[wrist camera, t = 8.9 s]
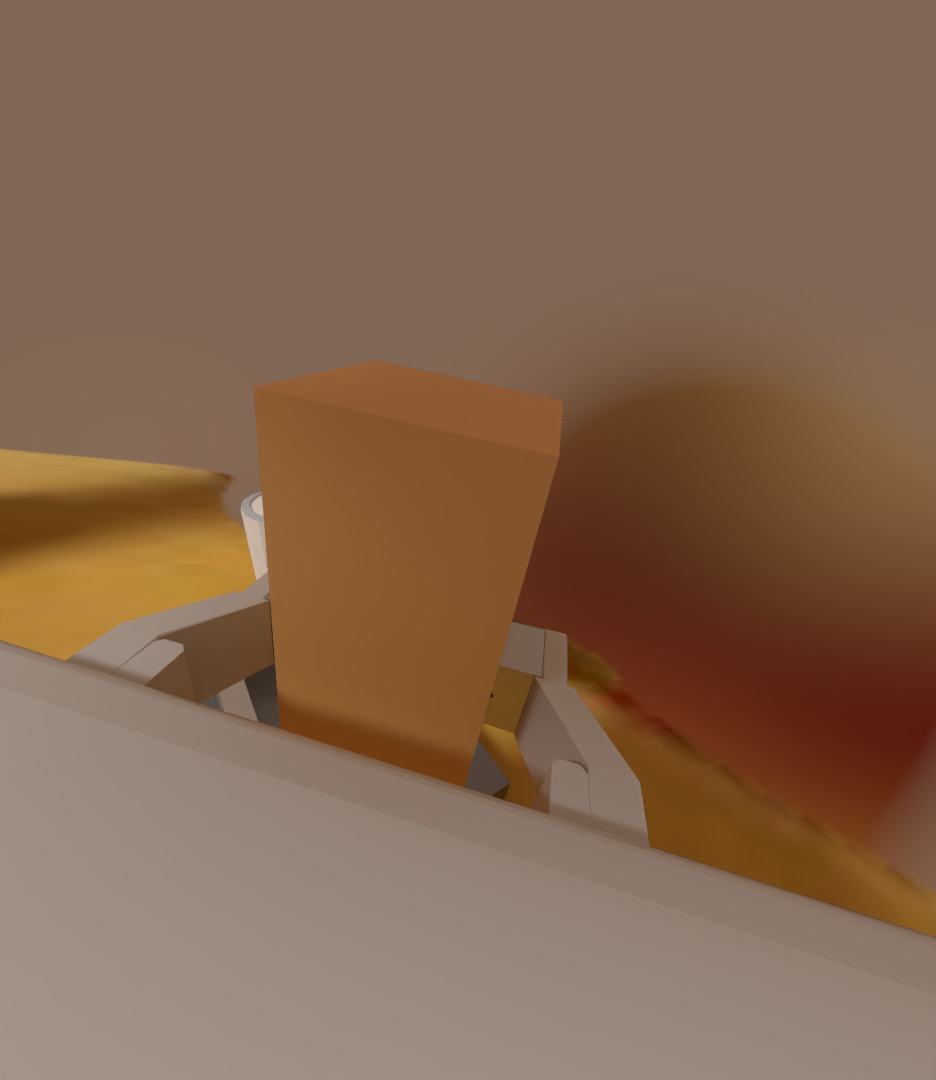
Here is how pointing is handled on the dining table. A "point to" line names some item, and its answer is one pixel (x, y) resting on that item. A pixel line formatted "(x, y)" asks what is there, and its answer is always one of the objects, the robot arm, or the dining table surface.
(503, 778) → the square socket plate
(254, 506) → the white tapered cup
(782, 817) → the dining table surface
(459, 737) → the orange rectangular block
